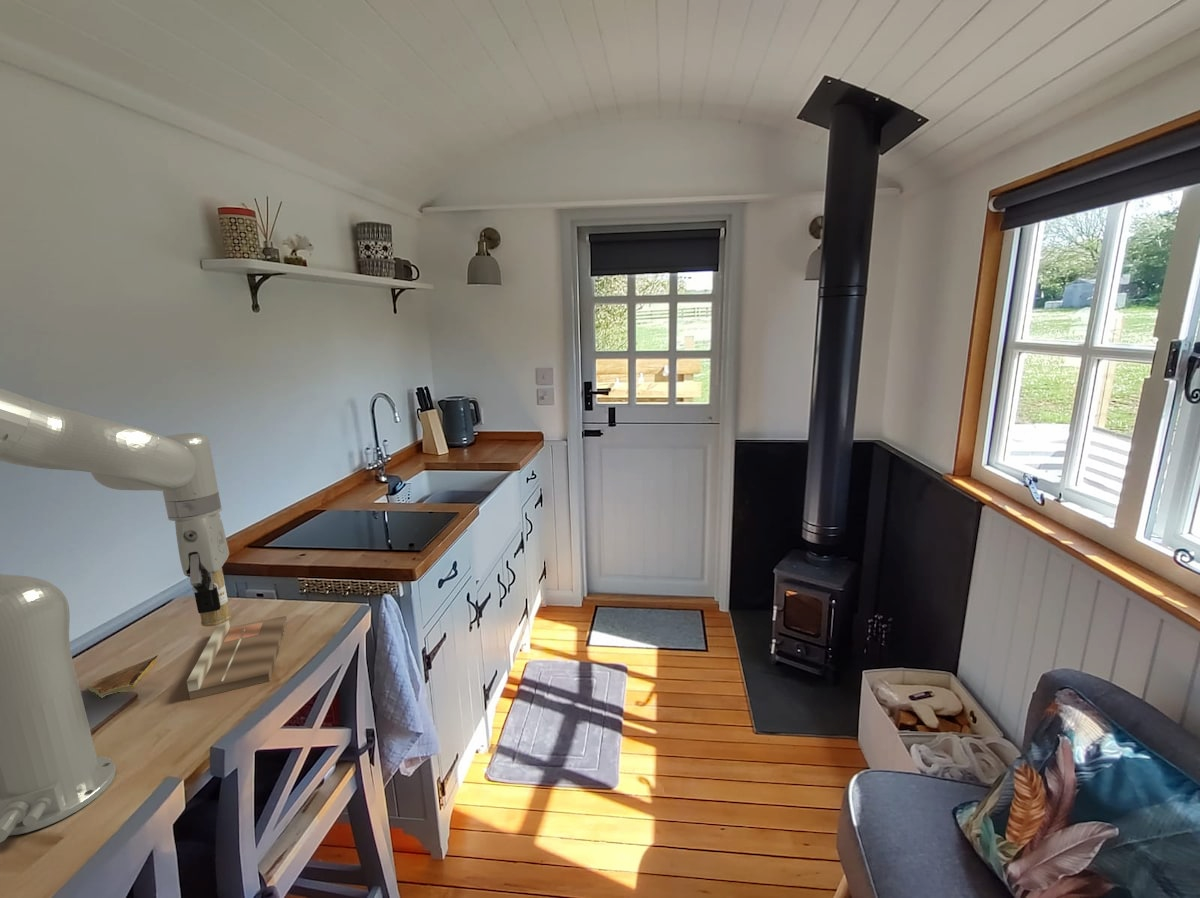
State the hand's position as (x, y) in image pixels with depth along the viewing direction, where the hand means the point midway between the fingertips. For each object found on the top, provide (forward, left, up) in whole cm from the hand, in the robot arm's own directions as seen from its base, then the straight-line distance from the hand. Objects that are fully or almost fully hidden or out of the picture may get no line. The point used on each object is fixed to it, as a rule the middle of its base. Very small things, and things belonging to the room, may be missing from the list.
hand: (213, 603), depth 99 cm
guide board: (+8, -1, -15) cm, 17 cm away
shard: (+9, +19, -16) cm, 26 cm away
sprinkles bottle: (0, 0, -4) cm, 4 cm away
